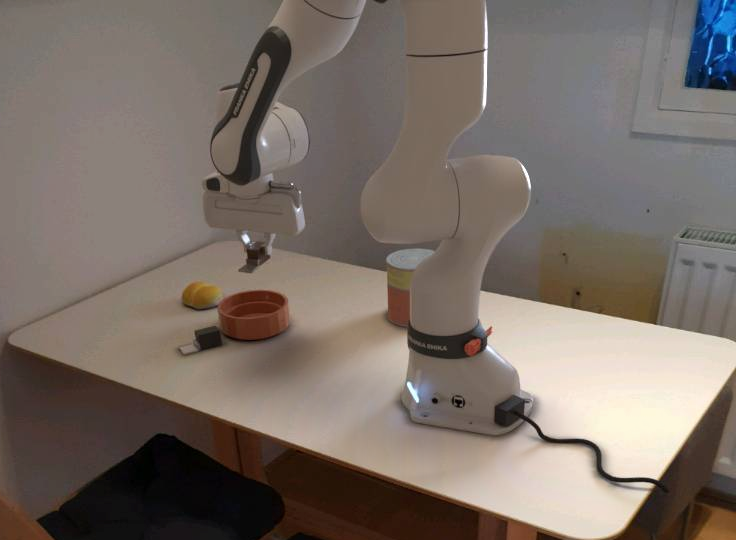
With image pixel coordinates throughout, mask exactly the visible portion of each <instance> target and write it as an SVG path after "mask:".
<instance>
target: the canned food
mask: <svg viewBox="0 0 736 540" xmlns="http://www.w3.org/2000/svg"><path fill="white" fill-rule="evenodd" d="M435 251H436V250H434V249H431V248H430V249H429V248H423V247H413V248H412V247H411V248H404V249H403V248H402V249H399V250H396V251H394V252H391V253H390V254H388V255H387V256H386V259H385V261H386V282H387V283H386V284H387V285H386V286H387V319H388V320H389V321H390V322H391V323H393V324H395V325H397V326H401V327H405V328H407V325H408V320H409V319H410V279H411V277H412V274H413V272H414V270H415V269H416V267H417V266H418V265H419V264H420V263H421V262H423V261H424V260H425V259H427V258H428V257H429V256H431V255H432V254H433V253H434V252H435Z"/></svg>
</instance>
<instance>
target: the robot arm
mask: <svg viewBox="0 0 736 540" xmlns="http://www.w3.org/2000/svg"><path fill="white" fill-rule="evenodd" d="M387 1H388V0H373V2H376V3H377V4H380V5H381V4H385V3H387ZM394 1H395V2H396V3H397V5H399V7H400V9H401V12H402V15H403V20H404V22H403V23H404V53H405V54H404V60H405V61H404V63H405V66H404V68H405V69H404V70H405V87H404V88H405V90H404V111H403V118H402V124H401V127H400V131H399V134H398V135H397V139H396V140H395V144H394V146H393V148H392V150H391V152H390V153H389V154H388V157H387V158H386V159H385V161H384V162H383V164H381V166H380V167H379V168H378V169H377V170H376V171H375V172H373V174H371V175H370V177H369V179H368V180H367V181H366V183H365V185H364V187H363V190H362V193H361V196H360V215H361V219H362V223H363V224H364V227H365V228H366V230H367V232H368V233H369V234H370V236H371V237H372V238H373V239H374V240H376V241H377V242H378V243H383V244H395V245H414V244H420V243H428V242H434V241H441V240H442V241H441V242H440V244H439V245H438V247H437V248H436V249H435V250H434V251H435V252H434V253H433V254H432V255H431V256H429V257H428V258H427V259H425V260H424V261H423V262H421V263H420V264H419V265H418V266H417V267H416V269H415V270H414V272H413V274H412V277H411V279H410V319H409V320H408V325H407V327H406V329H407V331H406V335H407V336H406V342H407V348H408V362H407V368H406V375H405V381H404V385H403V389H402V391H401V394H400V400H401V403H402V405H403V406H404V407H405V408H406V409H407V410H408V412H409V416H410V417H409V418H410V420H411V422H414V423H417V424H423V425H428V426H434V427H441V428H446V429H447V428H448V429H453V430H459V431H464V432H465V431H466V432H471V433H476V434H482V435H488V436H494V437H495V436H501V435H504V434H507V433H509V432H511V431H513V430H515V429H516V428H518V427H519V426H520V425H521V424H523V422H525V423H527V424H529V425H530V426H531V427H532V428H534V430H535V432H536V433H537V435H538V436H539V438H540V439H542V440H544V441H546V442H548V443H552V444H582V445H587V446H589V447H590V448H592V449H593V450H594V451H595V454H596V455H595V456H596V462H595V463H596V470H597V472H598V473H599V475H601V476H602V477H603V478H604V479H605V480H608V481H610V482H613V483H621V484H628V483H629V484H630V483H631V484H632V483H646V484H647V483H648V484H652V485H655V486H657V487H658V488H659V489H661V490H662V491H663V492H664V493H667V494H668V493H671V492H670V491H671V490H670V489H669V488H668V487H667V486H666V484H664V483H663V482H662V481H660V480H657V479H655V478H652V477H646V476H643V477H642V476H641V477H640V476H637V477H635V476H633V477H618V476H613V475H611V474H609V473H607V472H606V471H605V470H604V468H603V466H602V451H601V449H600V447H599V446H598V445H597V444H596V443H594V442H593V441H591V440H589V439H585V438H553V437H551V436H547V435H545V433H543V431H542V429H541V427H540V426H539V424H537V423H536V422H535V421H534V420H533V419H531V418H530V417H529V416H530V414H531V412H532V410H533V407H534V399H533V395H532V394H531V393H529V392H527V391H525V390H522V389H521V382H520V381H521V380H520V375H519V372H518V370H517V369H516V367H515V366H514V365H512V364H511V363H510V362H509V361H508V360H507V359H506V358H504V357H503V356H502V355H501V354H500V353H499V352H498V351H497V350H496V349H495V348H493V347H492V346H491V345H490V344H489V343H488V338H489V337H490V336H491V335H492V333H493V331H492V330H493V326H492V325H491V326H490V327H488V328H487V329H486V330H485V328H484V327H483V325H482V322H481V320H480V318H479V311H480V309H479V308H480V299H481V298H480V297H481V290H482V281H483V276H484V274H485V270H486V267H487V265H488V263H489V260H490V258H491V256H492V254H493V253H494V251H495V249H496V248H497V246H498V244H499V243H500V242H501V241H502V239H503V238H504V237H505V236H506V234H507V233H508V232H509V231H510V230H511V229H512V228H513V227H514V226H515V225H517V224H518V223H519V222H520V221H522V219H523V217H524V216H525V215H526V212H527V211H528V208H529V206H530V202H531V195H532V185H531V180H530V176H529V174H528V171H527V170H526V167H525V166H524V165H523V164H522V162H521V161H520V160H518V159H517V158H516V157H512V156H505V155H496V154H494V155H493V154H479V155H472V156H464V157H457V158H448V156H449V153H450V150H451V149H452V147H453V145H454V143H455V142H456V141H457V139H458V138H460V136H461V135H463V134H464V133H465V132H467V131H468V130H469V129H472V127H474V126H475V125H476V124H477V123H478V122H479V120H480V119H481V117H482V115H483V113H484V111H485V109H486V105H487V80H488V15H487V14H488V13H487V1H486V0H394ZM366 3H367V0H282V2H281V4H280V6H279V8H278V10H277V12H276V14H275V16H274V18H273V19H272V20H271V22H270V24H269V25H268V27H267V28H266V30H264V32H263V33H262V35H261V37H260V38H259V39H258V41H257V43H256V45H255V47H254V49H253V51H252V53H251V54H250V55H251V56H250V57H249V59H248V61H247V65H246V67H245V69H244V72H243V74H242V76H241V79H240V81H239V82H237V83H233V84H228V85H225V86H223V87H221V88H220V89H219V90H218V91H217V94H216V103H215V109H216V110H215V111H216V112H215V113H216V123H217V124H216V125H215V126H214V129H213V131H212V135H211V138H210V143H209V154H210V159H211V162H212V164H213V166H214V168H215V169H216V171H214V172H212V173H210V174H208V175H207V176H205V177H204V178H202V179H201V187H202V189H203V190H204V192H203V194H202V210H203V217H204V221H205V223H206V224H207V226H209V228H217V229H224V230H226V229H227V230H233V231H235V232H236V233H235V234H236V236H237V238H238V239H239V241H240V242H241V244H242V245H243V252H244V253H246V254H247V250H246V249H247V248H249V247H250V246H251V245H253V244H254V243H255V241H251V239H250V238H249V235H248V234H247V233H249V232H253V233H262V234H263V237H264V239H266V240H265V242H266V243H264V244H263V245H261V250H262V251H261V252H262V254H264V255H270V256H271V254H273V245H272V244H273V242H274V240H275V238H276V236H277V235H280V236H289V237H290V236H291V237H296V236H298V235H299V234H301V233H302V232H303V231H304V229H305V228H306V220H305V214H304V209H303V204H302V193H301V192H302V191H301V190H300V189H299V188H298V187H297V186H296V185H294V183H293V182H289V181H286V182H283V181H277V180H274V173H276V172H279V171H282V170H284V169H286V168H290V167H292V166H295V165H297V164H299V163H300V162H302V161H304V160H305V159H306V157H307V155H308V153H309V151H310V146H311V134H310V129H309V126H308V123H307V121H306V118H305V117H304V116H303V115H302V113H301V112H300V111H298V110H297V109H296V108H295V107H293V106H286V105H285V104H283V103H281V102H279V101H278V99H279V97H280V95H281V94H282V92H283V91H284V90H285V89H286V88H287V86H288V85H290V84H291V83H292V82H293V81H295V80H296V79H297V78H298V77H300V76H302V75H303V74H305V73H306V72H308V71H310V70H312V69H314V68H315V67H317V66H319V65H321V64H323V63H325V62H327V61H329V60H330V59H332V58H334V57H335V56H337V55H338V54H340V53H341V52H342V50H343V49H345V46H346V45H347V44H348V42H349V41H350V39H351V37H352V36H353V34H354V32H355V31H356V29H357V27H358V24H359V21H360V19H361V16H362V14H363V11H364V8H365V5H366Z"/></svg>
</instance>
